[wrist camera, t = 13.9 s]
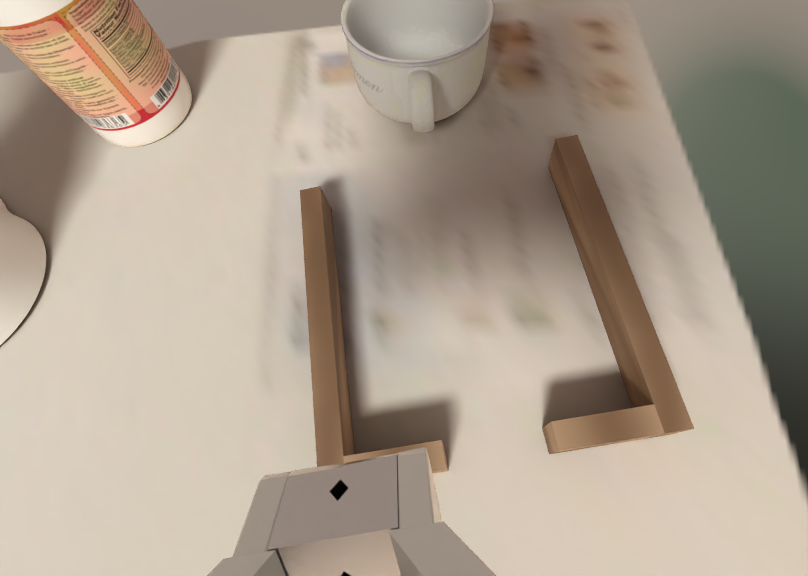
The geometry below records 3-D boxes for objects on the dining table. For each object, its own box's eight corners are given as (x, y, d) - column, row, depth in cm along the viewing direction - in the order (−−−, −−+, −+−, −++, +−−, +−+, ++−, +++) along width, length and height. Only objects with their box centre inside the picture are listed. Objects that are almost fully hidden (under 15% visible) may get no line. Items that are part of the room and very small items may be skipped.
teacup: (375, 49, 42) (356, -42, 35) (493, 50, 40) (500, -46, 33) (343, 172, 37) (313, 94, 29) (478, 179, 35) (482, 99, 28)
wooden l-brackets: (333, 489, 27) (318, 490, 24) (312, 213, 35) (300, 190, 33) (670, 434, 26) (694, 428, 23) (568, 162, 34) (577, 135, 32)
